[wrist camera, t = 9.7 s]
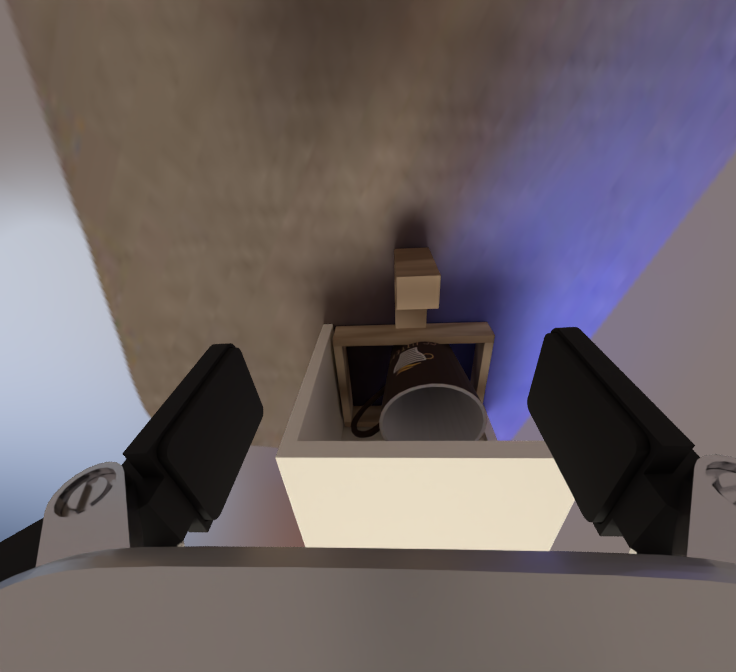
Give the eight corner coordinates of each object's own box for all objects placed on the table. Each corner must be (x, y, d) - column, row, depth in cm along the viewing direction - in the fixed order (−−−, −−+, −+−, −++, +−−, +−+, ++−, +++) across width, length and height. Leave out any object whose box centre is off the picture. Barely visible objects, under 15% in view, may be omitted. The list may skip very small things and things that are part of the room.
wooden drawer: (326, 251, 28) (309, 280, 21) (499, 243, 26) (533, 271, 20) (347, 410, 38) (340, 461, 32) (473, 409, 37) (490, 461, 31)
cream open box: (323, 324, 32) (275, 457, 18) (500, 318, 31) (595, 458, 17) (338, 419, 39) (312, 567, 25) (482, 418, 38) (537, 573, 24)
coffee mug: (464, 317, 31) (494, 382, 22) (457, 383, 35) (480, 458, 27) (349, 322, 32) (336, 386, 23) (357, 386, 36) (348, 459, 28)
